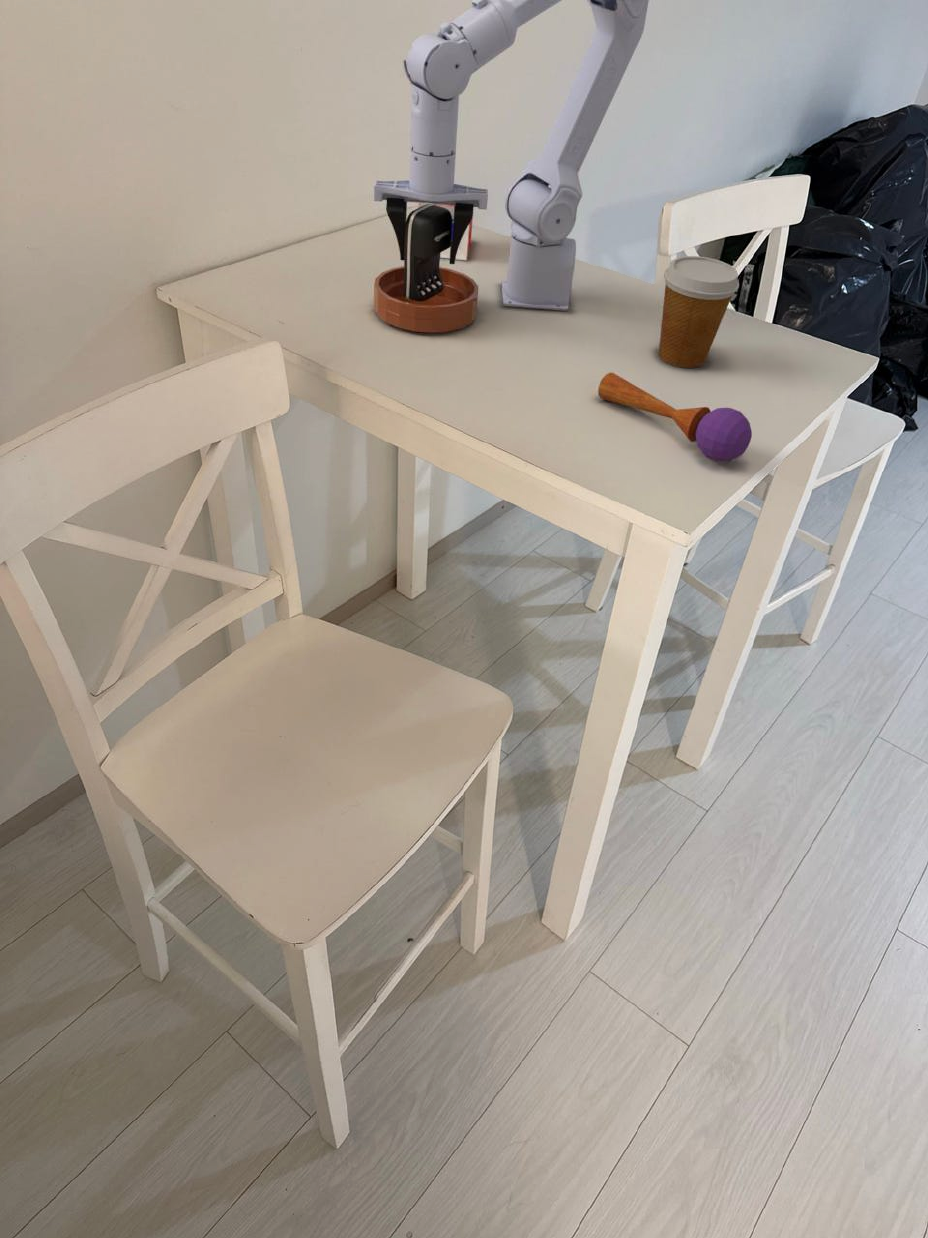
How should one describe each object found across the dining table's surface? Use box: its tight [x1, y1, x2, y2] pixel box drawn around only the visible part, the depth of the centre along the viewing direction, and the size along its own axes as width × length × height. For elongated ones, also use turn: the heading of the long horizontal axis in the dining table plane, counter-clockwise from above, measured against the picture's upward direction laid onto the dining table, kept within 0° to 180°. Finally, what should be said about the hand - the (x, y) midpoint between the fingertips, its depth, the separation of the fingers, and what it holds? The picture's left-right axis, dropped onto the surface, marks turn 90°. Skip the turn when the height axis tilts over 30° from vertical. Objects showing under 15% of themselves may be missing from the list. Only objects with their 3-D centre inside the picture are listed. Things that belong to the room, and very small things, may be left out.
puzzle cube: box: [417, 203, 475, 261], centre depth 143 cm, size 8×8×8 cm
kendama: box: [597, 372, 753, 463], centre depth 106 cm, size 6×6×20 cm
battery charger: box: [403, 204, 452, 302], centre depth 121 cm, size 7×4×11 cm, turn 149°
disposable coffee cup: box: [658, 255, 740, 369], centre depth 118 cm, size 10×10×12 cm
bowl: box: [373, 265, 479, 333], centre depth 126 cm, size 14×14×4 cm
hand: (428, 259), depth 122 cm, fingers closed on battery charger, 6 cm apart
